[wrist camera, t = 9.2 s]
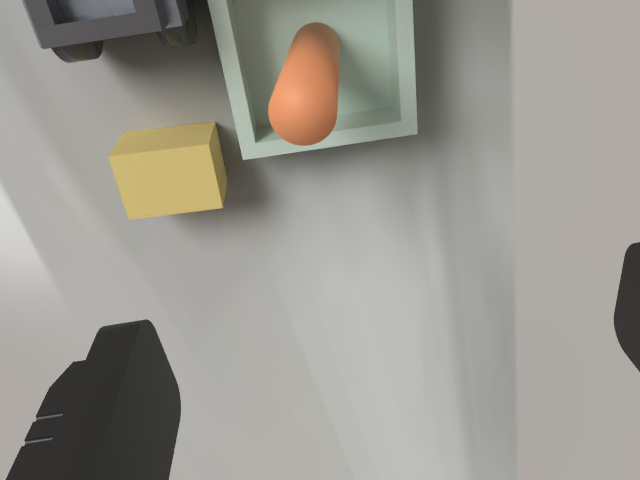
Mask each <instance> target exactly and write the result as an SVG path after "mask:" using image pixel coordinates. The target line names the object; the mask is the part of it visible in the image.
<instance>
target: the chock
mask: <svg viewBox="0 0 640 480" xmlns="http://www.w3.org/2000/svg"><path fill="white" fill-rule="evenodd" d="M108 158H109V161H110V164H111V167H112V170H113V173H114V176H115V179H116V182H117V185H118V188H119V191H120V194H121V197H122V200H123V203H124V206H125V209H126V212H127V215H128V218H129V220H130V219H138V218H146V217H154V216H162V215H171V214H179V213H187V212H195V211H203V210H212V209H220V208H223V205H224V199H225V194H226V188H227V183H228V179H227V175H226V170H225V165H224V160H223V156H222V151H221V146H220V141H219V137H218V132H217V127H216V123H215V122H207V123H199V124H191V125H183V126H174V127H166V128H158V129H150V130H142V131H133V132H125V133H124V134H123V135H122V137H121V138H120V140H119V141H118V143H117V144H116V146H115V147H114V149H113V150H112V152H111V153H110V154H109V156H108Z"/></svg>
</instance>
